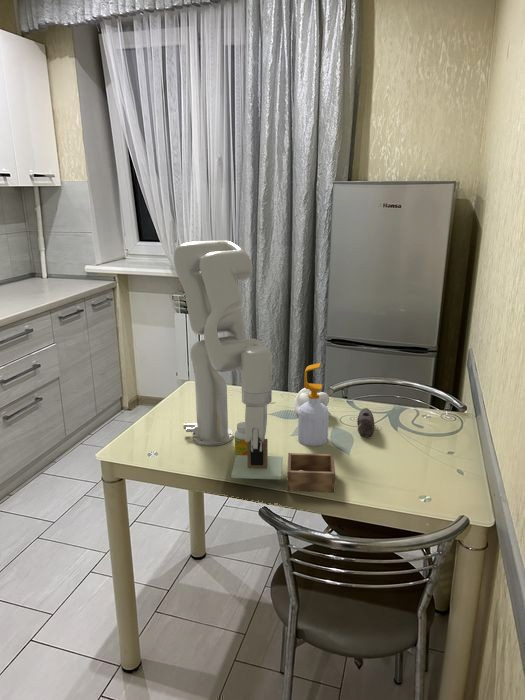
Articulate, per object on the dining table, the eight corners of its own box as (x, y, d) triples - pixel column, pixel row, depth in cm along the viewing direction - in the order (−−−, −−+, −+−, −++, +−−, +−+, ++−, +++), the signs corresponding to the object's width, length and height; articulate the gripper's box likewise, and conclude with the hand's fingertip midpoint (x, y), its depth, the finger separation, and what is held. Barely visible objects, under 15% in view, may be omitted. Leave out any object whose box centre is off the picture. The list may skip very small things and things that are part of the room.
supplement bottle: (232, 458, 152) (231, 427, 149) (239, 449, 157) (238, 419, 154) (249, 461, 150) (249, 430, 147) (256, 452, 155) (256, 422, 152)
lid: (231, 477, 134) (230, 449, 132) (236, 457, 144) (235, 431, 142) (281, 479, 133) (281, 451, 131) (282, 459, 143) (282, 432, 141)
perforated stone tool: (357, 420, 176) (358, 401, 174) (373, 421, 176) (374, 402, 174) (356, 440, 162) (357, 419, 160) (374, 442, 161) (375, 421, 159)
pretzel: (285, 416, 180) (285, 391, 177) (306, 405, 189) (306, 382, 186) (312, 425, 173) (312, 399, 170) (332, 414, 182) (333, 389, 179)
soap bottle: (326, 448, 158) (329, 370, 150) (296, 445, 159) (297, 368, 152) (328, 435, 166) (331, 360, 159) (300, 432, 168) (301, 359, 160)
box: (287, 492, 134) (287, 471, 133) (288, 472, 144) (288, 452, 142) (334, 494, 134) (335, 473, 132) (332, 474, 143) (333, 454, 141)
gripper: (245, 383, 141) (246, 446, 146) (238, 407, 125) (239, 476, 130) (273, 384, 140) (273, 447, 145) (269, 408, 125) (270, 477, 130)
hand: (257, 460), depth 138 cm, fingers closed on lid, 3 cm apart
